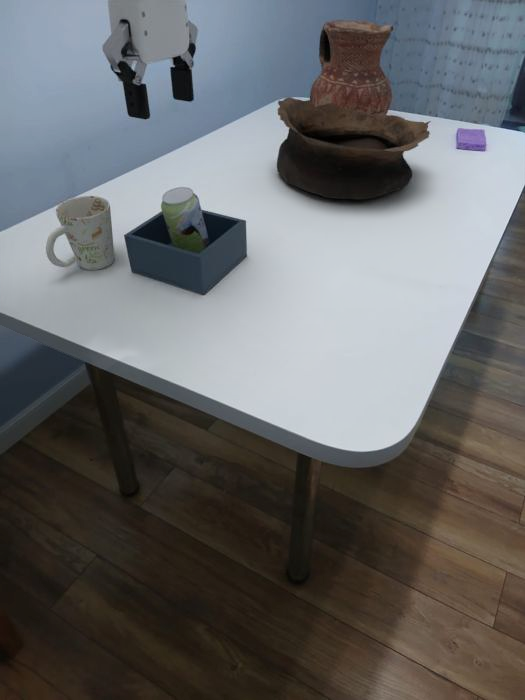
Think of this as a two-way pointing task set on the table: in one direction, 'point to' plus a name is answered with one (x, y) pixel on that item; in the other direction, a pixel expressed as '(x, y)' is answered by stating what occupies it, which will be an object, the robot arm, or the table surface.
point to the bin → (187, 252)
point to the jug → (353, 67)
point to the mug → (84, 232)
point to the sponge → (471, 139)
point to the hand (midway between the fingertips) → (162, 108)
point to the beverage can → (185, 220)
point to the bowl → (345, 150)
